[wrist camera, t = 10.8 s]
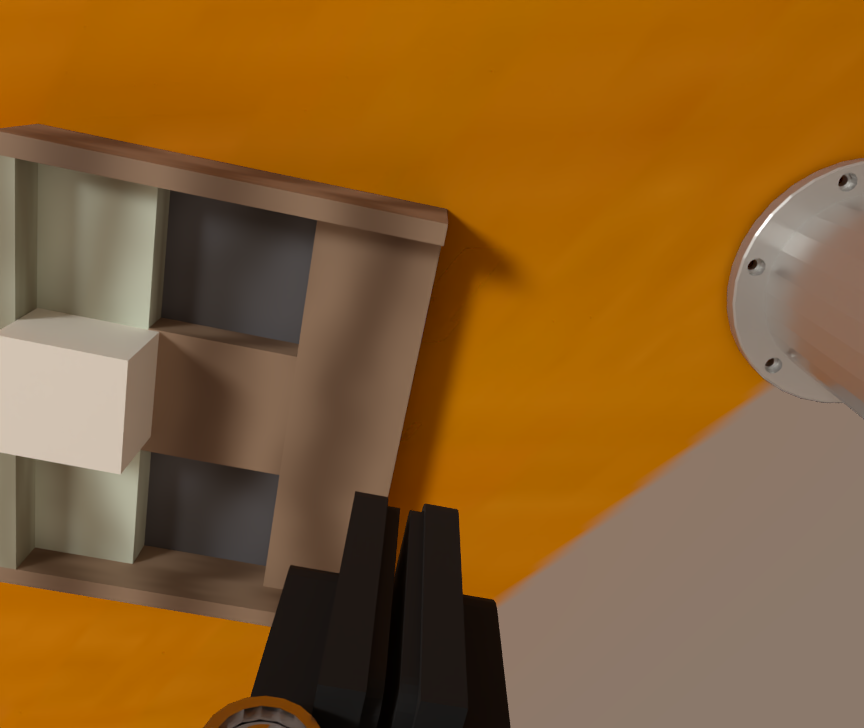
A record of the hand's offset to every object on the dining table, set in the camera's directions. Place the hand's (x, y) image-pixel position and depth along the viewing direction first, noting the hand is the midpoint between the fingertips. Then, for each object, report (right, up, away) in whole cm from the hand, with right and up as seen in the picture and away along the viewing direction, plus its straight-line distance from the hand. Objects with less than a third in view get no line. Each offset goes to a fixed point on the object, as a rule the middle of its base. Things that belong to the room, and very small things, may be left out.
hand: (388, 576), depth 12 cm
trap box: (-11, +2, +28) cm, 30 cm away
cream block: (-17, +3, +26) cm, 31 cm away
